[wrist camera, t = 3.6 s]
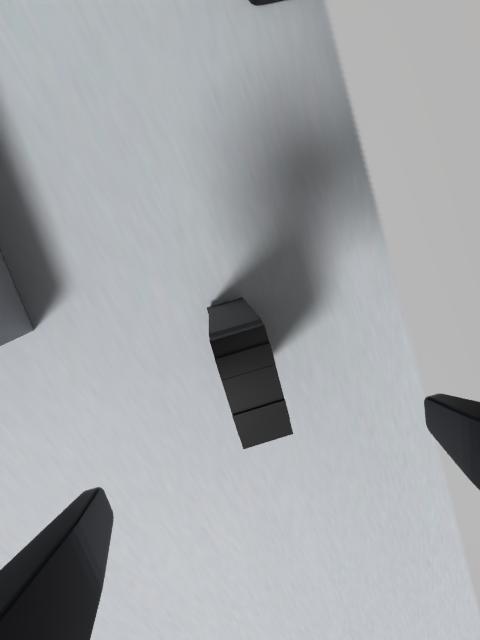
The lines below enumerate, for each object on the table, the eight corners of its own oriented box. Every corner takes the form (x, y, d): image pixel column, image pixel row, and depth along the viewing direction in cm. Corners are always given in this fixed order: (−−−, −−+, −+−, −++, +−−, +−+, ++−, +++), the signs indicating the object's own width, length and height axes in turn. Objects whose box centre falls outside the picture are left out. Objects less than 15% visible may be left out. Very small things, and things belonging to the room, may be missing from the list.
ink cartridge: (207, 305, 19) (205, 341, 11) (241, 295, 19) (265, 323, 11) (228, 376, 20) (240, 454, 12) (261, 367, 20) (294, 437, 12)
